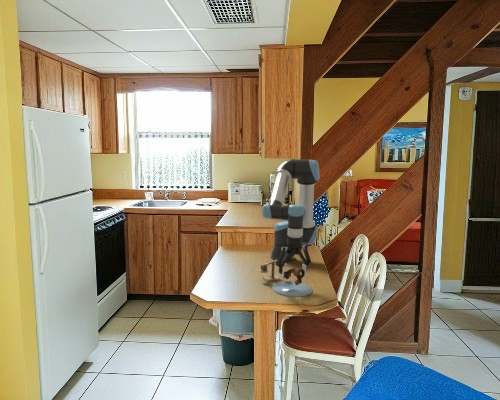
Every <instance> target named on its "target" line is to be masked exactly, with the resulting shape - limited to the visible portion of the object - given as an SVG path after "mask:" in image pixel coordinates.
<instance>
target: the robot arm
mask: <svg viewBox="0 0 500 400" xmlns="http://www.w3.org/2000/svg"><path fill="white" fill-rule="evenodd" d="M320 176H321V175H320V164H319V162H318V161H317V160H314V159H302V158H300V159H295V158H290V159H287V160H285V161H283V162H282V163H281V164H279V166H278V167H277V168H276V171H275V173H274V178H275V179H274V184H273V186H272V187H273V188H272V191H271V195H270V197H269V202H268V203H266V204H263V206H262V217H263V218H264V219H269V220H280V221H279V222H276V223H275V225H274V233H273V234H274V235H273V237H274V238H273V247H272V249H271V253H270V258H271V260H273V261H275V260H277V261H276V262H275V265H274V266H277V267H278V273H279V276H280V279H281V282H284V280H285V279H284V272H285V266H284V264H287V262H290V261H293V260H295V257H296V256H299V258H300V259H301V261H302V262H303V263H302V264H301V269H303V270H304V271H305V275H304V277H303V278H304V279H305V278H307V277H306V276H307V271H308V267H309V265H310V264H312V260H311V256H310V253H309V251H308V245H314V244H315V243H316V237H317V233H318V226H317V225H316V223H315V221H314V200H315V199H314V197H315V196H314V195H315V185H316V184H317V182H318V181H320V178H321V177H320ZM292 179H293V180H296V182H297V184H298V185H299V190H298V192H299V197H298V198H299V199H298V200H299V202H298V204H290V205H284V202H285V198H286V194H287V189H288V185H289V182H290V181H291V180H292ZM281 220H282V221H281ZM283 220H284V221H283ZM301 250H302V251H301ZM303 253H304V254H303ZM283 266H284V267H283Z"/></svg>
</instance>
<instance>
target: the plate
mask: <svg viewBox="0 0 500 400" xmlns="http://www.w3.org/2000/svg"><path fill="white" fill-rule="evenodd" d="M272 290H273V292H274V293H277V294H279V295H281V296H285V297H291V298H292V297H295V298H296V297H297V298H300V297H307V296H308V295H310V294H312V293H313V288H312V286H310V285H309V284H307V283H303V282H302V283H300V284H299V285H296V284H295V282H294V281H279V282H277V283H274V284H273V285H272Z"/></svg>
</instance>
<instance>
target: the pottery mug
mask: <svg viewBox="0 0 500 400" xmlns="http://www.w3.org/2000/svg"><path fill="white" fill-rule="evenodd" d="M292 275H294V277H295V278H296V280H294V281H293V282H295V284H296V285H299V284H300V283H303V282H302V279H303V278H304V275H305V271H304V270H303V269H302V268H300V269H299V268H298V269H296V267H292V268H290V269H288V270H286V271H285V270H284V280H285V279H286V280H289V279H290V278H291V277H292Z"/></svg>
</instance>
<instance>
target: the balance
mask: <svg viewBox="0 0 500 400" xmlns="http://www.w3.org/2000/svg"><path fill="white" fill-rule="evenodd" d="M276 261H277V260H272V261H269V262H267V263H263V264H260V269H258V272H259V273H262V274H265V273H269V272H270V271H269V269H268V266H269V265H271V275H270V276H269V275H268V276H263V277H262V279H263V281H265V282H266V283H270V282H278V281H279V282H282V280H281V279H280V275H277V274H276V275H275V266H276V265H275V264H276ZM287 266H288V264H287V263H285V264H284V266H283V267H284V268H285V267H287Z"/></svg>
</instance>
